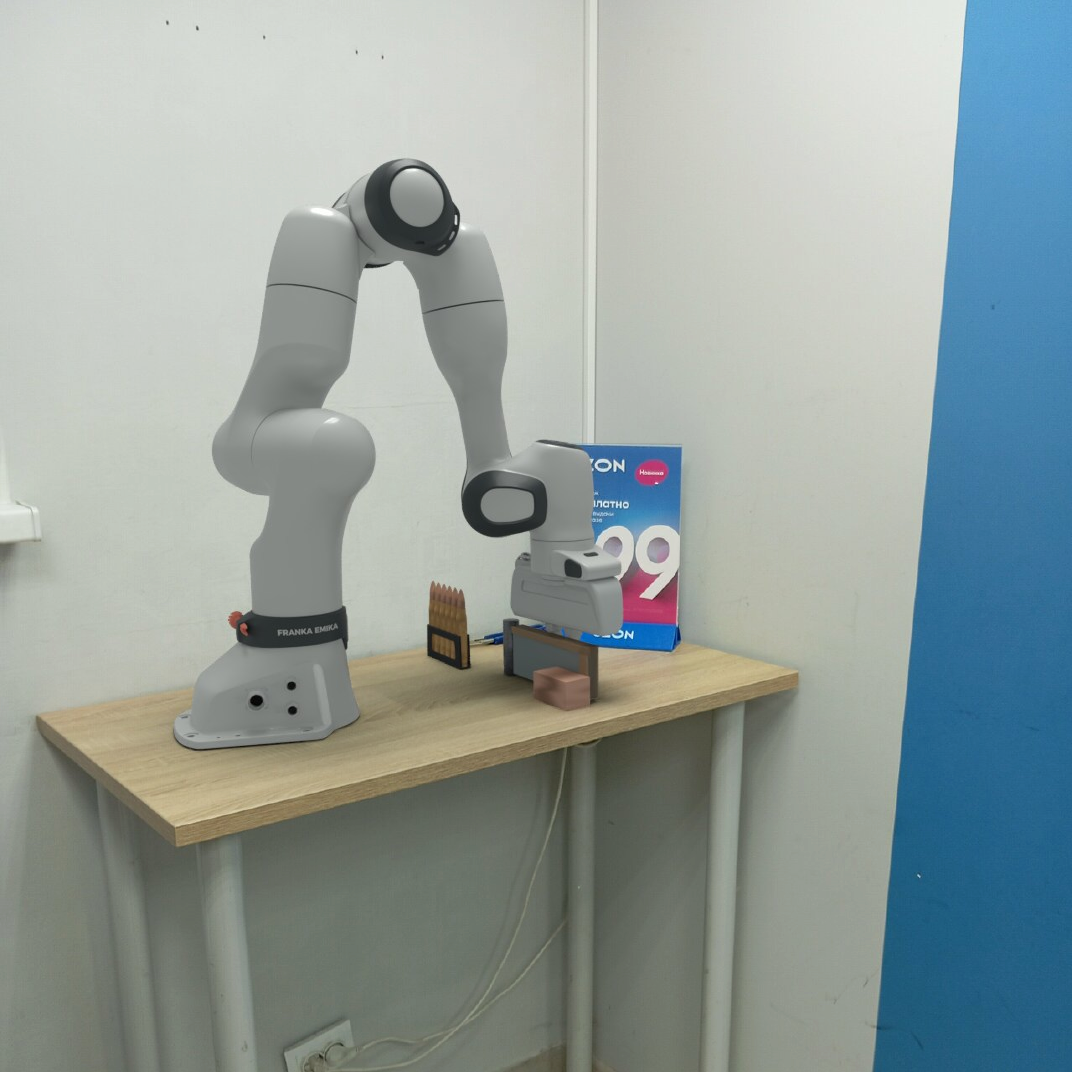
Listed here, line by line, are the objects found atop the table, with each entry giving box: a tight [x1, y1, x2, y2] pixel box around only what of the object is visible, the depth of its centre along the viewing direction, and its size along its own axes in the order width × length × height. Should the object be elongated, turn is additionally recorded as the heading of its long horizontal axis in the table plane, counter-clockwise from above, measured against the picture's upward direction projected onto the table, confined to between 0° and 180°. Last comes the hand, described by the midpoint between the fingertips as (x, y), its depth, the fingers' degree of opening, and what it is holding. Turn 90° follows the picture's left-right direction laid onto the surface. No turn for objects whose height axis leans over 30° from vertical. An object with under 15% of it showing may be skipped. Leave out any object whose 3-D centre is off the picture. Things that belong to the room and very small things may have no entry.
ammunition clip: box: [426, 580, 472, 671], centre depth 156 cm, size 11×2×12 cm, turn 34°
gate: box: [511, 624, 600, 701], centre depth 141 cm, size 17×2×7 cm, turn 37°
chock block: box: [532, 666, 591, 712], centre depth 135 cm, size 7×4×4 cm, turn 37°
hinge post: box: [502, 617, 520, 677], centre depth 149 cm, size 2×2×8 cm
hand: (564, 656), depth 142 cm, fingers closed
